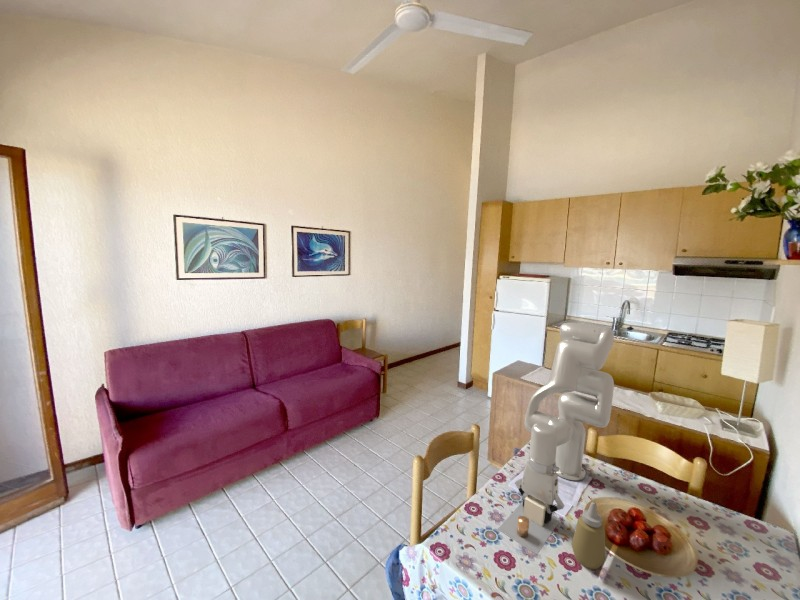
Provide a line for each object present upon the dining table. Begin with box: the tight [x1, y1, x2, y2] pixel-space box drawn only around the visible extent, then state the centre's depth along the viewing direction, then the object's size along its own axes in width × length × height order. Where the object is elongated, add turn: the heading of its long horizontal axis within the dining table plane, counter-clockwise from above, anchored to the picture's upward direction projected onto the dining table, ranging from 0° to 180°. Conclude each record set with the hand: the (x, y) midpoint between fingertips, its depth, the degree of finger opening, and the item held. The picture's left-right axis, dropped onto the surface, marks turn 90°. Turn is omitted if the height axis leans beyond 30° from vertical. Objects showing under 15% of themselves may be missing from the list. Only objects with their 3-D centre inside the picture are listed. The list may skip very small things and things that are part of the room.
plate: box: [497, 501, 561, 555], centre depth 106 cm, size 18×12×1 cm, turn 135°
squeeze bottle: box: [571, 501, 606, 570], centre depth 93 cm, size 8×8×18 cm
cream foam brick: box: [523, 495, 546, 526], centre depth 109 cm, size 6×6×6 cm
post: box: [517, 516, 529, 538], centre depth 102 cm, size 3×3×4 cm
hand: (536, 514), depth 109 cm, fingers closed on cream foam brick, 5 cm apart
